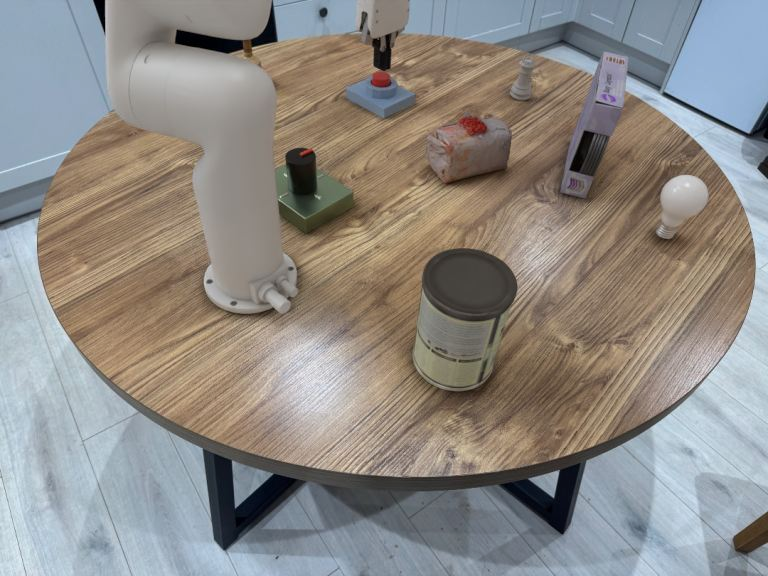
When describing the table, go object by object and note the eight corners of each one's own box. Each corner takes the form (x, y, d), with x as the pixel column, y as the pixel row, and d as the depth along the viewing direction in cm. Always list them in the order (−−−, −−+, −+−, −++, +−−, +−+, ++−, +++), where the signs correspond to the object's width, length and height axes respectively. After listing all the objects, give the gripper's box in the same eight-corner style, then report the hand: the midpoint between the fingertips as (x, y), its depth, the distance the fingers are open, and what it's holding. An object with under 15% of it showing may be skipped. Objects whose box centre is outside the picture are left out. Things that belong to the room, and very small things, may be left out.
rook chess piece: (505, 93, 121) (513, 56, 115) (522, 89, 123) (531, 53, 117) (517, 103, 118) (525, 65, 113) (534, 99, 120) (544, 62, 114)
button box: (414, 104, 116) (416, 85, 113) (384, 118, 111) (385, 99, 109) (376, 84, 121) (377, 66, 118) (345, 98, 116) (345, 79, 114)
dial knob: (300, 198, 88) (298, 166, 84) (281, 185, 90) (278, 153, 86) (323, 186, 90) (322, 155, 86) (304, 173, 92) (302, 142, 88)
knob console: (353, 206, 92) (353, 190, 90) (306, 234, 87) (305, 218, 84) (301, 171, 98) (300, 156, 96) (254, 195, 93) (251, 179, 90)
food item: (441, 189, 96) (449, 138, 89) (420, 164, 101) (426, 113, 94) (509, 173, 100) (522, 123, 93) (486, 150, 105) (496, 100, 98)
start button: (393, 84, 114) (394, 76, 113) (381, 90, 112) (381, 81, 111) (380, 78, 115) (381, 69, 114) (368, 83, 114) (368, 75, 112)
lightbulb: (657, 252, 88) (688, 194, 80) (634, 226, 92) (661, 168, 84) (692, 246, 89) (726, 189, 81) (667, 221, 93) (697, 164, 85)
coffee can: (409, 326, 75) (418, 246, 65) (486, 326, 75) (508, 247, 65) (414, 392, 68) (426, 314, 58) (499, 392, 68) (526, 315, 58)
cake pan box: (587, 204, 95) (624, 107, 83) (557, 197, 96) (589, 100, 84) (596, 146, 108) (629, 54, 95) (569, 140, 109) (599, 49, 96)
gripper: (400, -49, 104) (394, 50, 117) (339, -33, 96) (340, 72, 109) (431, -39, 100) (421, 63, 114) (371, -20, 93) (368, 86, 106)
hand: (381, 67), depth 111 cm, fingers closed
